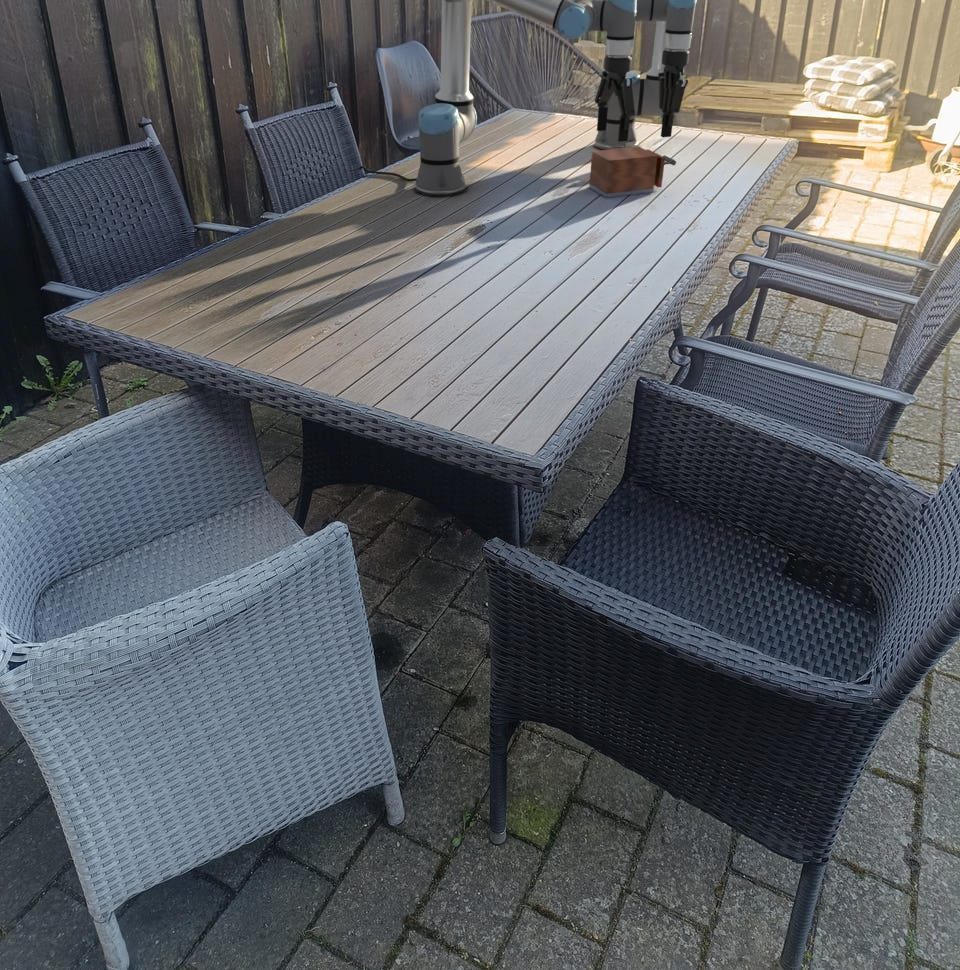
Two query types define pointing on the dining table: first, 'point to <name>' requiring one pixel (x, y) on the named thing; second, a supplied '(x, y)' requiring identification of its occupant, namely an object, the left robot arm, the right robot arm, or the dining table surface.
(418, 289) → the dining table surface
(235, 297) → the dining table surface
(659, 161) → the drawer
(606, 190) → the cabinet
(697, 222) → the dining table surface
